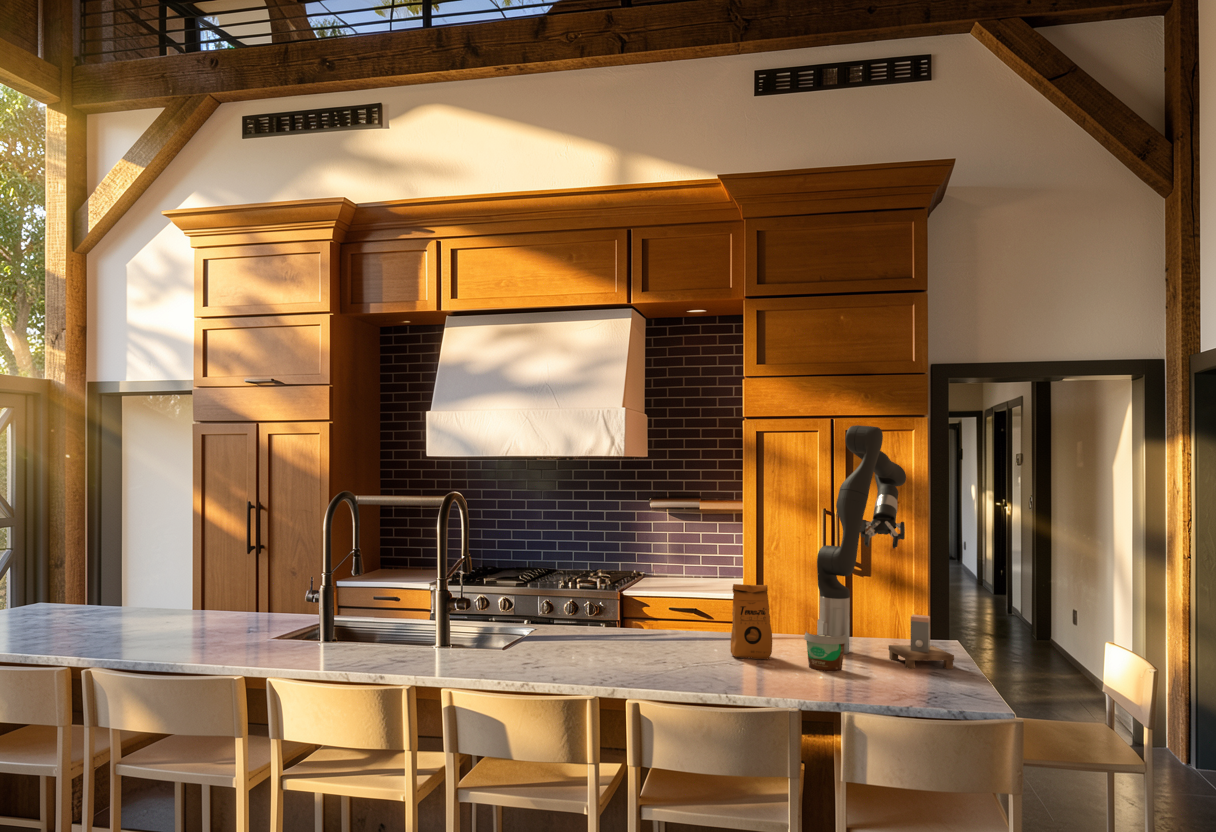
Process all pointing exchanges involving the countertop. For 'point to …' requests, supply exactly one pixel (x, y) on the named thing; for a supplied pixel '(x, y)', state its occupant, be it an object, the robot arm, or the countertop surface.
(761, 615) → the coffee package
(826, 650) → the food container
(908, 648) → the walnut stand
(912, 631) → the block
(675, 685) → the countertop surface
